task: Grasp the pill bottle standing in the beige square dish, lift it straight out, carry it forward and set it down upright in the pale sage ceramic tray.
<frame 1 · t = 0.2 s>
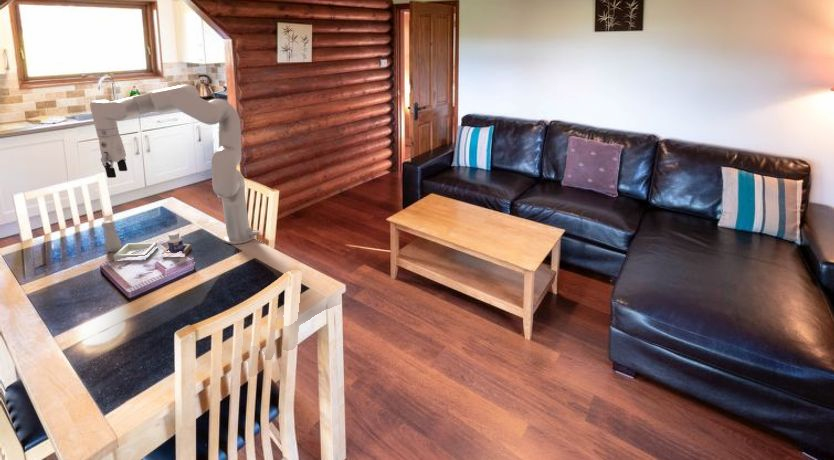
hand: (117, 174, 200), 31 cm above the table, fingers open, 9 cm apart
salt shaker: (115, 250, 204), on the table
beige square dish: (177, 253, 202), on the table
tray: (137, 254, 200), on the table
pill bottle: (177, 253, 202), resting in beige square dish
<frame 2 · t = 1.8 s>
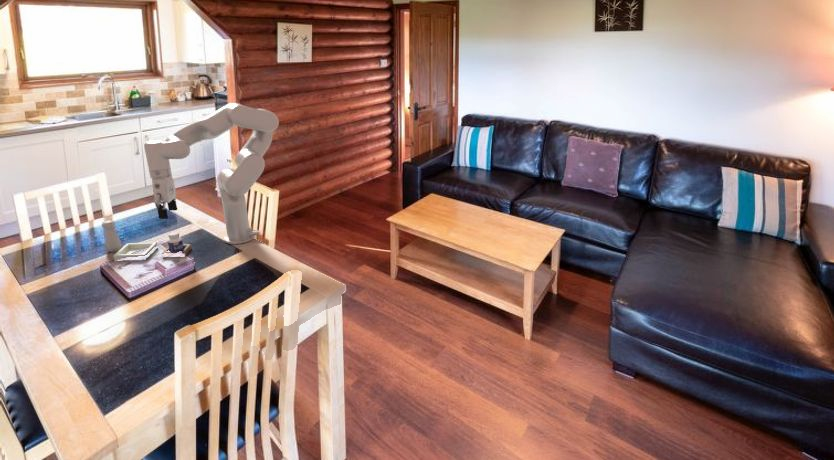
hand: (168, 214, 195), 17 cm above the table, fingers open, 9 cm apart
nothing on the table moved.
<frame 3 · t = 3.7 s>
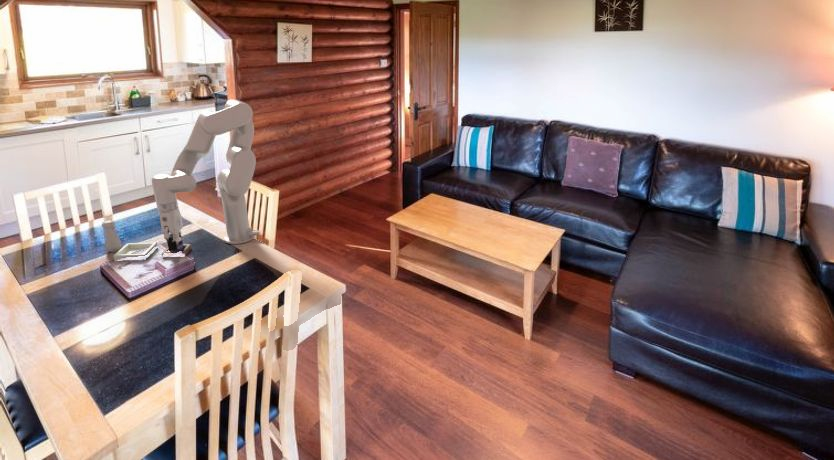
hand: (175, 246, 201), 3 cm above the table, fingers closed on pill bottle, 5 cm apart
pill bottle: (177, 253, 202), resting in beige square dish, touching gripper
everything else where it was.
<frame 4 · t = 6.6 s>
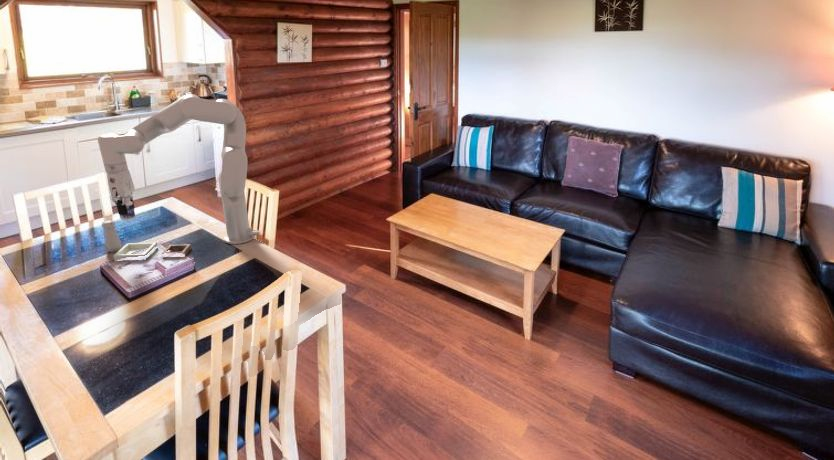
hand: (126, 211, 193), 19 cm above the table, fingers closed on pill bottle, 5 cm apart
pill bottle: (128, 218, 194), point 16 cm above the table, touching gripper
everything else where it was.
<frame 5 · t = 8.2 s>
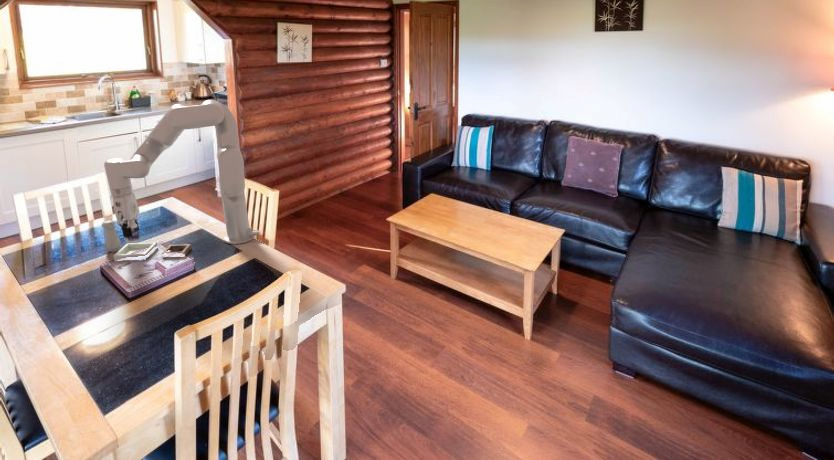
hand: (131, 233, 197), 9 cm above the table, fingers closed on pill bottle, 5 cm apart
pill bottle: (132, 240, 198), point 6 cm above the table, touching gripper
everything else where it was.
when the fingers open (5 cm above the table, at t = 9.6 s): pill bottle drops 1 cm, resting on tray.
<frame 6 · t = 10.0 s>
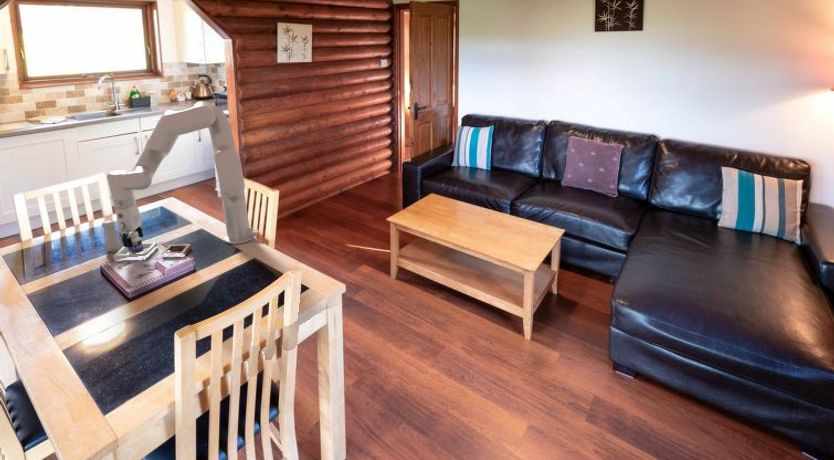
hand: (134, 241, 198), 6 cm above the table, fingers open, 9 cm apart
pill bottle: (136, 253, 200), resting on tray
everything else where it was.
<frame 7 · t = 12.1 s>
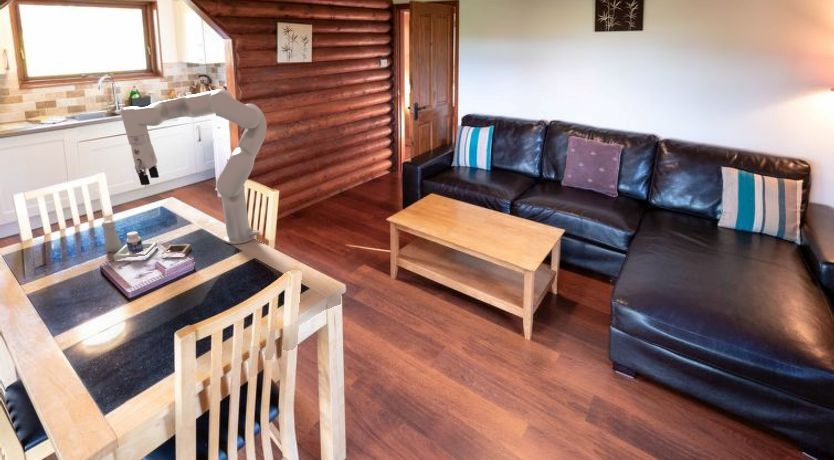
hand: (150, 181, 197), 29 cm above the table, fingers open, 9 cm apart
nothing on the table moved.
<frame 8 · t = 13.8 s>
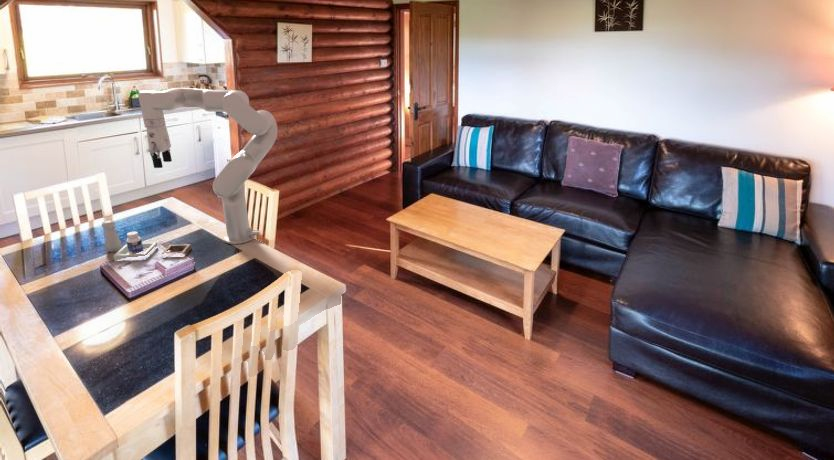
hand: (163, 164, 200), 34 cm above the table, fingers open, 9 cm apart
nothing on the table moved.
at the end: pill bottle 0.1 cm from the tray (horizontally); pill bottle resting on tray; pill bottle tilted 0° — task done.
